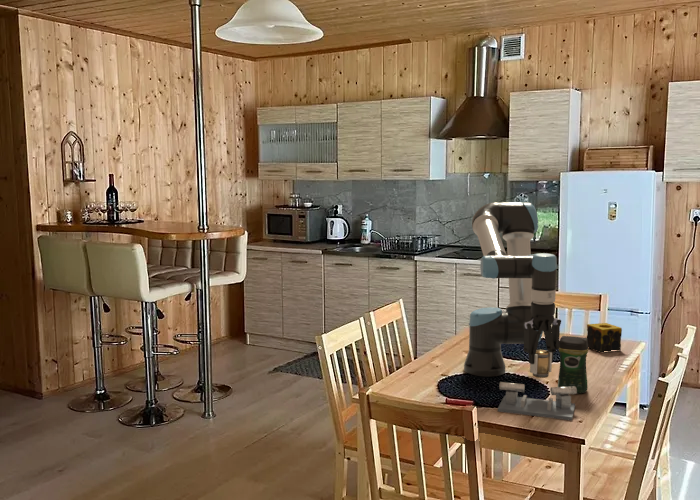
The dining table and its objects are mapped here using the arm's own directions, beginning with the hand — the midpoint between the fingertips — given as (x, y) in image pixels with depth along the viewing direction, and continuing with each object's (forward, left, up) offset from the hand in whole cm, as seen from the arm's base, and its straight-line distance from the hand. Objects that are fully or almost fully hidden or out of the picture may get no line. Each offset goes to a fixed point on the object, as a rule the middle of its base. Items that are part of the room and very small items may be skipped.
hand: (540, 371), depth 223 cm
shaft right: (+8, -9, -9) cm, 15 cm away
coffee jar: (+9, +12, -9) cm, 18 cm away
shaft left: (-8, -11, -9) cm, 16 cm away
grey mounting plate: (0, -11, -9) cm, 14 cm away
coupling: (0, 0, -1) cm, 1 cm away
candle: (+17, +73, -9) cm, 76 cm away
